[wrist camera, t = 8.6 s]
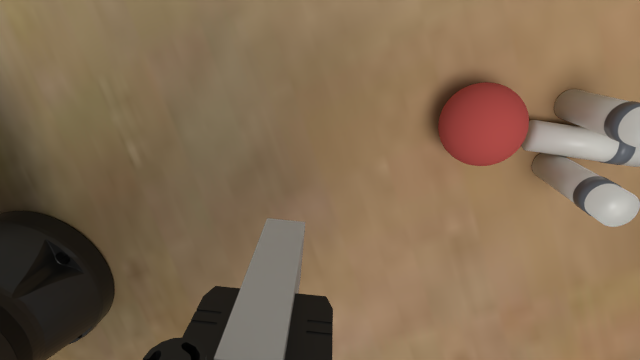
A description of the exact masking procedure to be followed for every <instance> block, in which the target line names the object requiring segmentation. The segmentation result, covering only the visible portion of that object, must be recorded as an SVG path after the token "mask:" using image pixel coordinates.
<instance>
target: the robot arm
mask: <svg viewBox="0 0 640 360" xmlns="http://www.w3.org/2000/svg"><path fill="white" fill-rule="evenodd" d="M304 232H305V222H300V221H290V220H280V219H271V218H267V220H266V223H265V225H264V228H263V231H262V233H261V236H260V238H259V241H258V244H257V246H256V249H255V252H254V254H253V257H252V259H251V262H250V265H249V267H248V270H247V273H246V275H245V278H244V281H243V283H242V286H241V288H240V289H239V288H229V287H220V286H215V287H214V288H213V289H211V290H210V291H209V292H208V293H207V294H206V295H204V296H203V298H202V300H201V302H200V304H199V306H198V308H197V311H196V312H195V314H194V316H193V318H192V319H191V323H189V325H188V327H187V329H186V331H185V333H184V335H183V337H182V338H173V339H170V340H167V341H164V342H161V343H160V344H158V345H157V346H155V347H153V348H152V349H151V350H150V351H149V352H148V353H147V354H146V355H145V357H144V358H143V360H332V322H333V309H332V307H331V305H330V303H329V301H328V299H327V297H325V296H316V295H306V294H298V291H299V284H300V276H301V265H302V254H303V243H304ZM113 296H114V285H113V279H112V276H111V273H110V270H109V268H108V266H107V264H106V262H105V260H104V259H103V257H102V256H101V254H100V253H99V252H98V250H97V249H96V248H95V247H94V246H93V245H92V244H91V243H90V242H89V241H88V240H87V239H86V238H85V237H84V236H83V235H81V234H80V233H79V232H77V231H76V230H75V229H73V228H72V227H70V226H68V225H67V224H65V223H63V222H61V221H59V220H57V219H54V218H52V217H49V216H46V215H43V214H39V213H34V212H26V211H12V212H6V213H2V214H0V360H46V359H48V358H49V357H51V356H52V355H54V354H55V353H57V352H58V351H59V350H61V349H62V348H64V347H65V346H66V345H68V344H71V343H73V342H75V341H77V340H79V339H81V338H82V337H84V336H85V335H87V334H88V333H89V332H90V331H91V330H93V329H94V327H95V326H96V325H97V324H98V323H99V322H100V321H101V319H102V318H103V317H104V316H105V315H106V314H107V312H108V311H109V309H110V307H111V304H112V301H113Z"/></svg>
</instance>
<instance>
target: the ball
mask: <svg viewBox="0 0 640 360" xmlns="http://www.w3.org/2000/svg"><path fill="white" fill-rule="evenodd" d="M528 128H529V116H528V111H527V108H526V106H525V104H524V102H523V101H522V99H521V98H520V97H519V96H518V95H517V94H516V93H515V92H514V91H513V90H511V89H510V88H508V87H506V86H503V85H500V84H496V83H488V82H485V83H477V84H472V85H469V86H467V87H465V88H463V89H461V90H459V91H458V92H456V93H455V94H454V95H453V96H452V97H451V98H450V99H449V100H448V101H447V103H446V104H445V105H444V107H443V109H442V112H441V114H440V118H439V124H438V130H439V136H440V139H441V142H442V144H443V146H444V147H445V149H446V150H447V151H448V152H449V153H450V154H451V155H452V156H453V157H454V158H456V159H457V160H459V161H461V162H463V163H466V164H469V165H475V166H487V165H492V164H496V163H499V162H501V161H503V160H505V159H507V158H509V157H510V156H511V155H513V154H514V153H515V152H516V151H517V150H518V149H519V148H520V146H521V145H522V143H523V142H524V140H525V138H526V135H527V132H528Z"/></svg>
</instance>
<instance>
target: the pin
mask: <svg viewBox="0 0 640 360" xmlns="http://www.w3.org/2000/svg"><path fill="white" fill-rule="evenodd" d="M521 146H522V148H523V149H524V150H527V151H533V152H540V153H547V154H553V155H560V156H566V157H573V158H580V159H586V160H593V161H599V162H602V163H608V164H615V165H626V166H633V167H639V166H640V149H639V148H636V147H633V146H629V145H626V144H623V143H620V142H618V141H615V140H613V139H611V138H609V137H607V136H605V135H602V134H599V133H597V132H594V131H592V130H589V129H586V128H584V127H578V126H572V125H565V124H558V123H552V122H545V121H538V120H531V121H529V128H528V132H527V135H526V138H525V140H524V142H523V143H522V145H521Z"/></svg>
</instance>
